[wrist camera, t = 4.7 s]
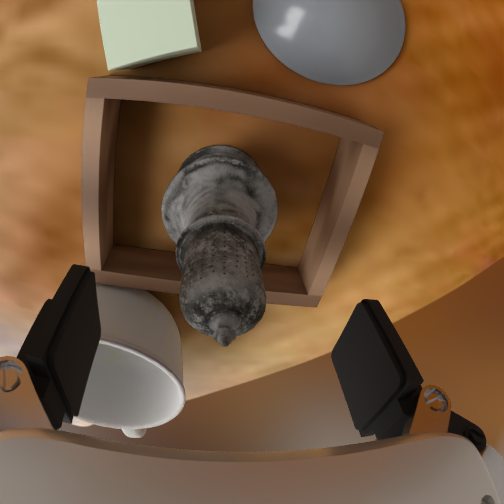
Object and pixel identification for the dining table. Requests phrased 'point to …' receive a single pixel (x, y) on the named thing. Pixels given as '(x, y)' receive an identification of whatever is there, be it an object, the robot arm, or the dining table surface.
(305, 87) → the dining table surface
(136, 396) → the teacup
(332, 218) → the walnut corral
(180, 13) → the sage block
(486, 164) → the dining table surface
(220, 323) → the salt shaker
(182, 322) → the dining table surface
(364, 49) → the slate coaster
